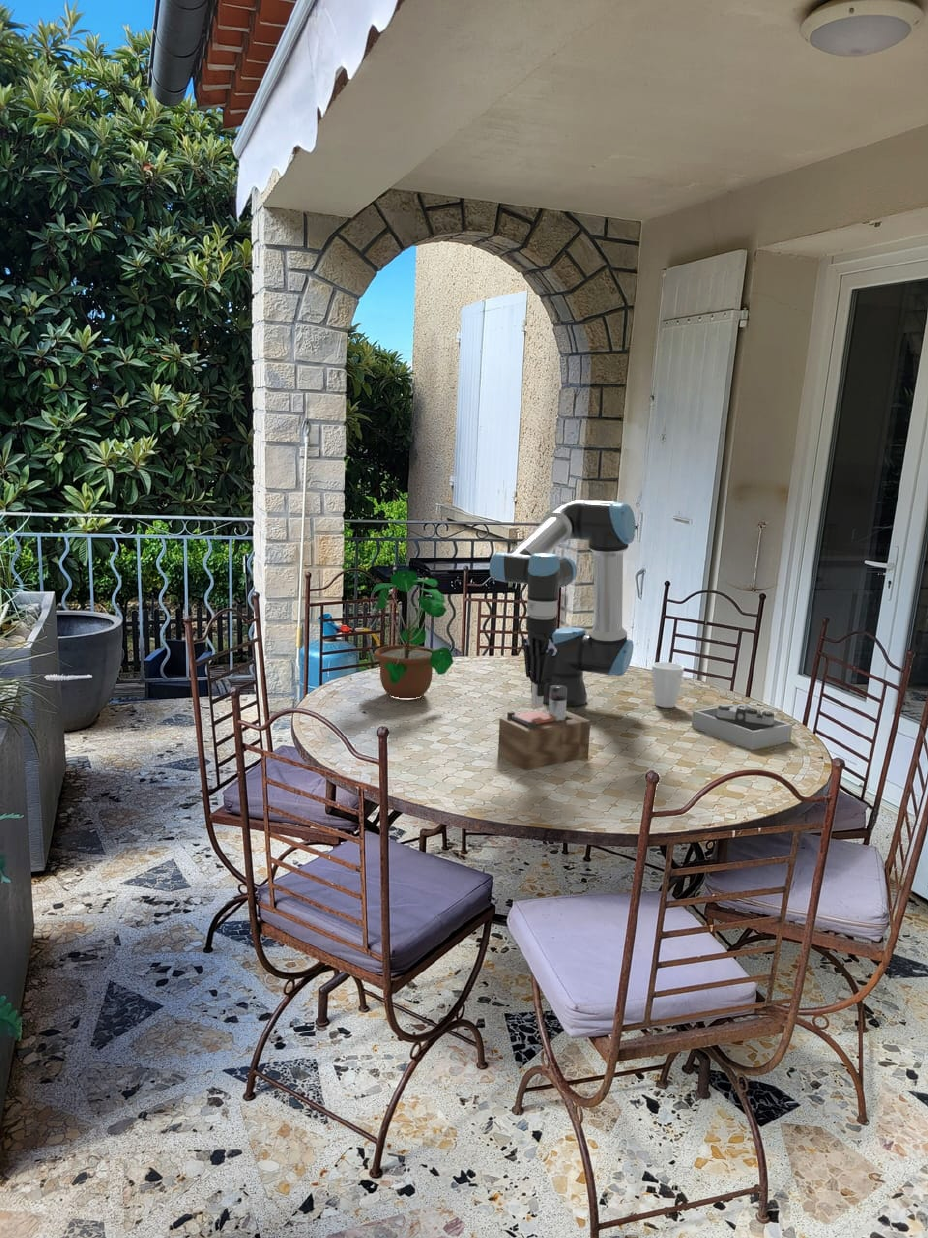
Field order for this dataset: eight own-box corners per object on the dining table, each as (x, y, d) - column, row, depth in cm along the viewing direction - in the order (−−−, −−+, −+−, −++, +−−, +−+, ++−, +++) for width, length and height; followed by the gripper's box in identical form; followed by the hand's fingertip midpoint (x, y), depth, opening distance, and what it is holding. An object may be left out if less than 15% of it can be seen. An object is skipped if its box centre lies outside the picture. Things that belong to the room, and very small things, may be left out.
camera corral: (729, 720, 265) (730, 704, 264) (790, 741, 246) (792, 724, 245) (691, 727, 256) (693, 710, 255) (752, 750, 238) (753, 732, 237)
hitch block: (559, 744, 237) (561, 702, 234) (587, 758, 227) (590, 714, 225) (497, 755, 226) (499, 712, 224) (525, 770, 216) (527, 725, 214)
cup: (646, 707, 275) (649, 667, 272) (651, 699, 284) (654, 660, 281) (678, 712, 271) (682, 671, 269) (683, 704, 280) (686, 664, 278)
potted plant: (426, 715, 258) (430, 582, 251) (349, 698, 273) (351, 572, 266) (480, 693, 284) (485, 572, 277) (407, 678, 299) (410, 563, 291)
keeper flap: (538, 712, 228) (538, 709, 227) (555, 720, 222) (555, 716, 221) (511, 719, 223) (511, 715, 223) (528, 727, 217) (528, 723, 217)
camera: (773, 737, 251) (777, 703, 249) (770, 747, 242) (774, 712, 240) (717, 728, 258) (720, 695, 256) (712, 738, 248) (715, 704, 247)
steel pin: (556, 743, 231) (559, 684, 228) (567, 748, 228) (570, 688, 225) (543, 745, 229) (546, 686, 226) (554, 750, 225) (557, 690, 222)
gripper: (513, 612, 221) (510, 702, 226) (545, 622, 211) (540, 716, 215) (537, 610, 225) (533, 698, 230) (569, 619, 214) (564, 712, 219)
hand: (536, 707), depth 223 cm, fingers closed
